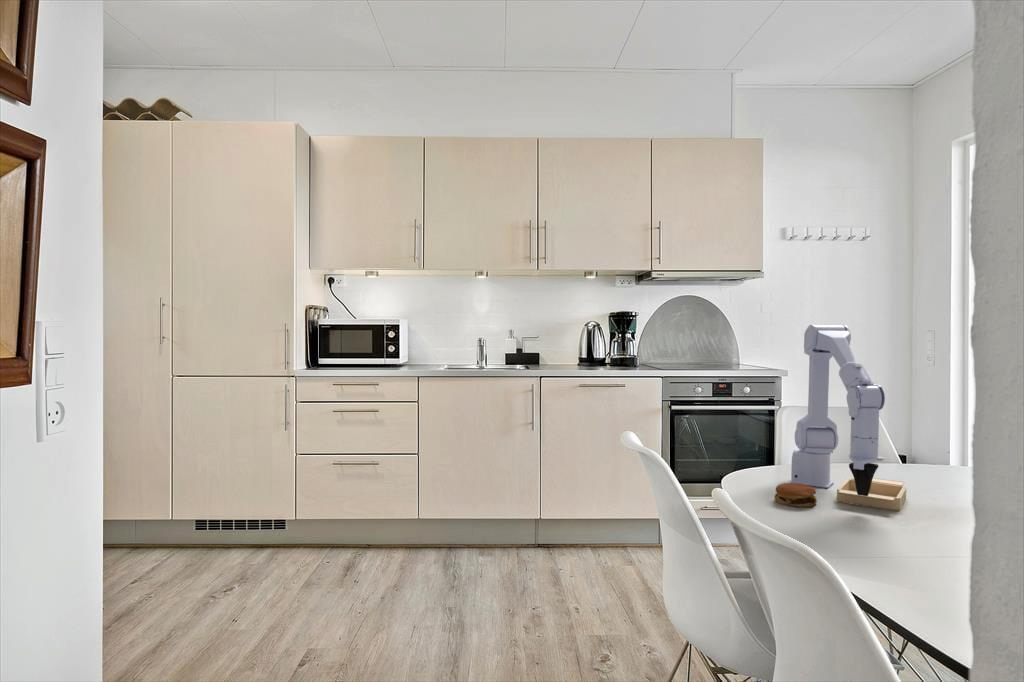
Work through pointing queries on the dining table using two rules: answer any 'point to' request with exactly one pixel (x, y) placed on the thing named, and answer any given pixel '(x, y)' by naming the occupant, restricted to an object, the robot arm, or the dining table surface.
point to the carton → (875, 489)
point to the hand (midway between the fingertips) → (862, 494)
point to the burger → (795, 494)
